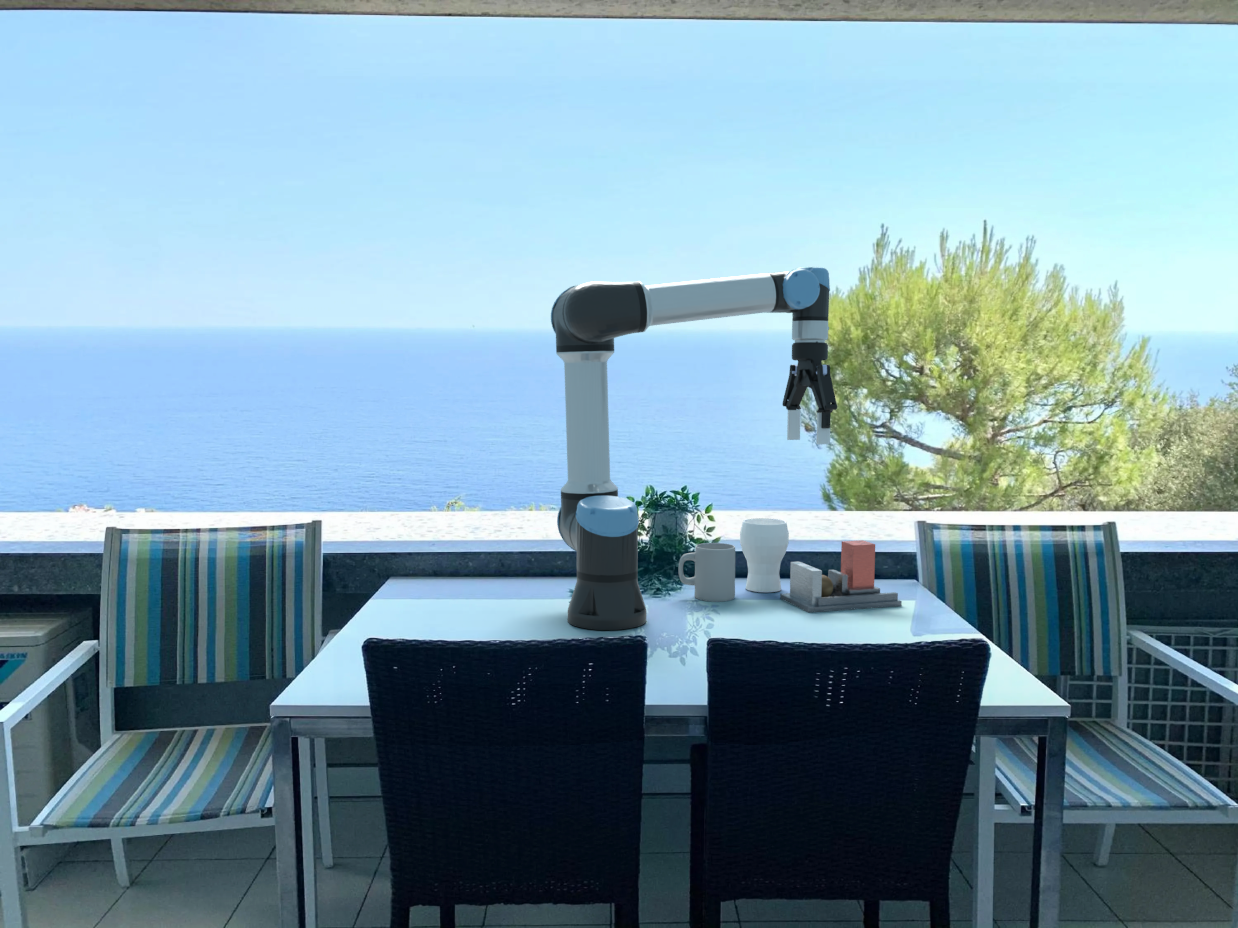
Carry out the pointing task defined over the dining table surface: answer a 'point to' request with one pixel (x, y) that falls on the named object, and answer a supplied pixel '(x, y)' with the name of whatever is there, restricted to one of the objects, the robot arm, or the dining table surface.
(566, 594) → the dining table surface
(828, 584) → the nut
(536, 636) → the dining table surface
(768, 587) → the cup
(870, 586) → the block
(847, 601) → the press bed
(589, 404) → the robot arm
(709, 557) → the mug
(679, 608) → the dining table surface
